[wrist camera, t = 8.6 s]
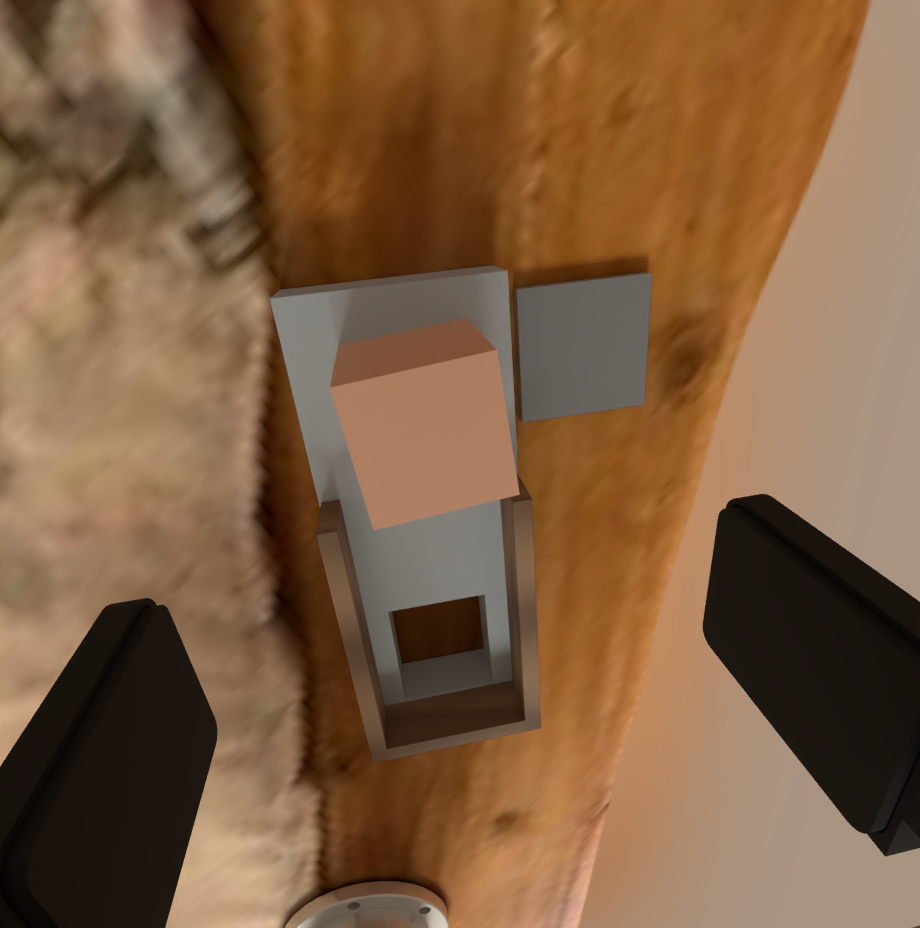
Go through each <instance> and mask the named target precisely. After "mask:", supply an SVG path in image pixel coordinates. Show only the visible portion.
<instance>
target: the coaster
mask: <svg viewBox="0 0 920 928" xmlns="http://www.w3.org/2000/svg"><path fill="white" fill-rule="evenodd" d="M651 285H652V273H650V272H638V273H630V274H622V275H613V276H605V277H597V278H588V279H580V280H572V281H564V282H555V283H547V284H539V285H531V286H522V287H514V288H513V294H514V315H515V336H516V357H517V378H518V399H519V418H520V420H521V421H522V422H530V421H537V420H544V419H550V418H557V417H564V416H571V415H577V414H584V413H591V412H598V411H604V410H611V409H618V408H625V407H631V406H638V405H644V402H645V385H646V368H647V352H648V335H649V319H650V302H651Z"/></svg>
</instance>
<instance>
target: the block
mask: <svg viewBox="0 0 920 928" xmlns="http://www.w3.org/2000/svg"><path fill="white" fill-rule="evenodd" d="M330 390H331V394H332V397H333V400H334V403H335V407H336V410H337V413H338V416H339V420H340V423H341V426H342V429H343V433H344V436H345V439H346V442H347V446H348V449H349V452H350V455H351V459H352V462H353V465H354V468H355V472H356V475H357V478H358V481H359V485H360V488H361V491H362V494H363V498H364V501H365V504H366V507H367V511H368V514H369V517H370V520H371V524H372V527H373V530H378V529H382V528H386V527H390V526H394V525H398V524H402V523H406V522H410V521H415V520H419V519H423V518H427V517H431V516H435V515H439V514H443V513H447V512H451V511H455V510H459V509H463V508H467V507H471V506H475V505H479V504H483V503H488V502H492V501H496V500H500V499H504V498H508V497H512V496H516V495H520V493H519V487H518V480H517V474H516V468H515V461H514V455H513V448H512V442H511V435H510V429H509V423H508V416H507V410H506V403H505V397H504V391H503V384H502V378H501V371H500V365H499V359H498V352H497V349H496V348H495V347H494V346H493V345H492V344H491V343H490V342H489V341H488V340H487V339H486V338H485V337H484V336H483V335H482V334H481V333H480V332H479V331H478V330H477V329H476V328H475V327H474V326H473V325H472V324H471V322H470V321H469V320H468V319H467V318H466V317H465V318H461V319H456V320H452V321H447V322H443V323H439V324H434V325H430V326H425V327H421V328H416V329H412V330H407V331H403V332H398V333H394V334H389V335H385V336H380V337H376V338H371V339H367V340H362V341H358V342H353V343H349V344H344V345H340V346H338V349H337V354H336V359H335V364H334V369H333V374H332V379H331V384H330Z"/></svg>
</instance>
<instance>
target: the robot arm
mask: <svg viewBox="0 0 920 928" xmlns="http://www.w3.org/2000/svg"><path fill="white" fill-rule="evenodd" d="M703 632H704V636H705V639H706V641H707V643H708V645H709V646H710V647H711V649H712V650H713V651H714V653H715V654H716V655H717V656H718V658H719V659H720V660H721V661H722V663H723V664H724V665H725V667H726V668H727V669H728V670H729V672H730V673H731V674H732V675H733V676H734V678H735V679H736V680H737V682H738V683H739V684H740V686H741V687H742V688H743V689H744V691H745V692H746V693H747V694H748V696H749V697H750V698H751V700H752V701H753V702H754V703H755V705H756V706H757V707H758V708H759V710H760V711H761V712H762V714H763V715H764V716H765V717H766V719H767V720H768V721H769V722H770V724H771V725H772V726H773V728H774V729H775V730H776V731H777V733H778V734H779V735H780V736H781V738H782V739H783V740H784V741H785V743H786V744H787V745H788V747H789V748H790V749H791V750H792V752H793V753H794V754H795V755H796V757H797V758H798V759H799V761H800V762H801V763H802V764H803V765H804V767H805V768H806V769H807V771H808V772H809V773H810V774H811V776H812V777H813V778H814V780H815V781H816V782H817V783H818V785H819V786H820V787H821V788H822V790H823V791H824V792H825V794H826V795H827V796H828V797H829V799H830V800H831V801H832V802H833V804H834V805H835V806H836V808H837V809H838V810H839V811H840V813H841V814H842V815H843V816H844V818H845V819H846V820H847V821H848V822H849V823H850V825H851V826H852V827H854V828H855V829H856V830H857V831H859V832H861V833H867V834H868V836H869V837H870V838H871V839H872V841H873V842H874V843H875V844H876V846H877V847H878V848H879V849H880V851H881V852H882V853H883V854H884V856H889V855H893V854H897V853H901V852H905V851H909V850H913V849H917V848H920V602H919V601H918V600H917V599H915V598H914V597H912V596H911V595H909V594H908V593H907V592H905V591H904V590H902V589H901V588H900V587H898V586H897V585H895V584H894V583H893V582H891V581H890V580H888V579H887V578H886V577H884V576H882V575H881V574H880V573H878V572H877V571H876V570H874V569H873V568H871V567H870V566H869V565H867V564H866V563H864V562H863V561H861V560H860V559H859V558H857V557H856V556H855V555H853V554H852V553H850V552H849V551H847V550H846V549H845V548H843V547H842V546H840V545H839V544H837V543H836V542H835V541H833V540H832V539H831V538H829V537H828V536H826V535H825V534H823V533H822V532H821V531H819V530H818V529H816V528H815V527H813V526H812V525H811V524H809V523H808V522H806V521H805V520H804V519H802V518H801V517H800V516H798V515H797V514H795V513H794V512H792V511H791V510H790V509H788V508H787V507H785V506H784V505H783V504H781V503H780V502H778V501H777V500H776V499H774V498H773V497H771V496H769V495H767V494H759V495H753V496H747V497H741V498H736V499H732V500H730V501H729V502H728V504H727V505H726V509H723V510H721V512H720V513H719V517H718V522H717V529H716V536H715V543H714V550H713V558H712V564H711V571H710V578H709V585H708V591H707V599H706V606H705V612H704V619H703ZM216 741H217V724H216V720H215V717H214V715H213V713H212V710H211V708H210V706H209V703H208V701H207V699H206V696H205V694H204V692H203V689H202V687H201V685H200V682H199V680H198V678H197V675H196V673H195V671H194V668H193V666H192V664H191V661H190V659H189V657H188V654H187V652H186V650H185V647H184V645H183V643H182V640H181V638H180V636H179V633H178V631H177V629H176V626H175V624H174V622H173V619H172V617H171V615H170V612H169V610H168V609H167V607H165V606H164V605H158V606H157V605H156V604H155V602H154V601H153V600H152V599H149V598H144V599H138V600H132V601H127V602H121V603H115V604H110V605H108V606H106V607H105V608H104V609H103V610H102V612H101V613H100V615H99V616H98V618H97V619H96V621H95V622H94V624H93V625H92V627H91V628H90V630H89V631H88V633H87V635H86V636H85V638H84V639H83V641H82V642H81V644H80V645H79V647H78V648H77V650H76V651H75V653H74V654H73V656H72V658H71V659H70V661H69V662H68V664H67V665H66V667H65V668H64V670H63V671H62V673H61V674H60V676H59V677H58V679H57V681H56V682H55V684H54V685H53V687H52V688H51V690H50V691H49V693H48V694H47V696H46V697H45V699H44V700H43V702H42V704H41V705H40V707H39V708H38V710H37V711H36V713H35V714H34V716H33V717H32V719H31V720H30V722H29V723H28V725H27V727H26V728H25V730H24V731H23V733H22V734H21V736H20V737H19V739H18V740H17V742H16V743H15V745H14V746H13V748H12V750H11V751H10V753H9V754H8V756H7V757H6V759H5V760H4V762H3V763H2V765H1V766H0V928H165V926H166V923H167V919H168V916H169V912H170V908H171V905H172V901H173V898H174V894H175V890H176V887H177V883H178V879H179V876H180V872H181V869H182V865H183V861H184V858H185V854H186V851H187V847H188V843H189V840H190V836H191V833H192V829H193V825H194V822H195V818H196V815H197V811H198V807H199V804H200V800H201V797H202V793H203V789H204V786H205V782H206V779H207V775H208V771H209V768H210V764H211V761H212V757H213V753H214V750H215V746H216ZM285 928H449V921H448V914H447V909H446V906H445V904H444V903H443V901H442V900H441V899H440V898H439V897H438V896H437V895H436V894H435V893H433V892H432V891H430V890H428V889H426V888H424V887H421V886H418V885H415V884H412V883H406V882H399V881H374V882H364V883H359V884H354V885H349V886H346V887H343V888H340V889H336V890H333V891H331V892H329V893H326V894H324V895H322V896H320V897H318V898H316V899H314V900H313V901H311V902H310V903H308V904H306V905H305V906H304V907H302V908H301V909H300V910H299V911H298V912H297V913H295V914H294V915H293V917H292V918H291V919H290V920H289V922H288V923H287V924H286V926H285ZM913 928H920V926H917V927H913Z"/></svg>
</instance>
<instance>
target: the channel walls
mask: <svg viewBox="0 0 920 928" xmlns="http://www.w3.org/2000/svg"><path fill="white" fill-rule="evenodd" d="M516 474H517V473H516ZM517 480H518V487H519V493H520V495H516V496H512V497H508V498H504V499H500V506H501V521H502V535H503V549H504V564H505V578H506V593H507V607H508V622H509V636H510V650H511V665H512V679H513V680H512V681H507V682H502V683H497V684H492V685H487V686H482V687H477V688H472V689H467V690H462V691H457V692H452V693H447V694H442V695H437V696H432V697H427V698H422V699H417V700H412V701H407V702H402V703H397V704H392V705H387V706H385V704H384V699H383V694H382V690H381V685H380V681H379V676H378V672H377V667H376V662H375V658H374V653H373V649H372V644H371V640H370V635H369V631H368V626H367V621H366V617H365V612H364V608H363V603H362V599H361V594H360V589H359V585H358V580H357V576H356V571H355V567H354V562H353V557H352V553H351V548H350V544H349V539H348V535H347V530H346V525H345V521H344V516H343V512H342V507H341V503H340V499H339V500H333V501H326V502H321V506H320V513H319V519H318V526H317V532H316V536H317V540H318V544H319V548H320V552H321V556H322V560H323V564H324V568H325V572H326V576H327V580H328V584H329V588H330V592H331V596H332V600H333V604H334V608H335V612H336V616H337V620H338V624H339V628H340V632H341V636H342V640H343V645H344V649H345V653H346V657H347V661H348V665H349V669H350V673H351V677H352V681H353V685H354V689H355V693H356V697H357V701H358V705H359V709H360V713H361V717H362V721H363V725H364V729H365V733H366V737H367V741H368V745H369V749H370V753H371V757H372V761H373V763H378V762H382V761H387V760H392V759H397V758H401V757H406V756H411V755H416V754H421V753H425V752H430V751H435V750H440V749H444V748H449V747H454V746H459V745H463V744H468V743H473V742H478V741H482V740H487V739H492V738H497V737H501V736H506V735H511V734H516V733H520V732H525V731H530V730H535V729H539V728H541V712H540V687H539V662H538V636H537V611H536V585H535V560H534V534H533V509H532V498H531V497H530V495H529V493H528V491H527V490H526V488H525V486H524V485H523V483H522V481H521V480H520V478H519V476H518V474H517Z"/></svg>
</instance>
